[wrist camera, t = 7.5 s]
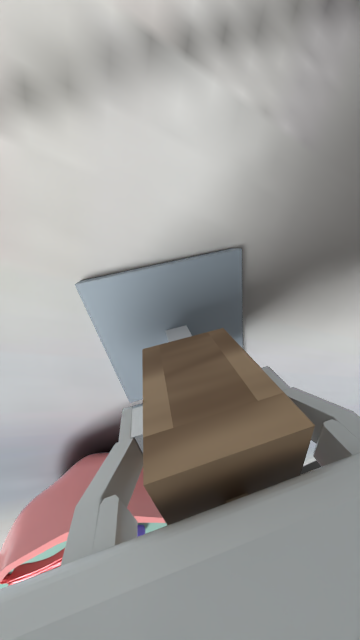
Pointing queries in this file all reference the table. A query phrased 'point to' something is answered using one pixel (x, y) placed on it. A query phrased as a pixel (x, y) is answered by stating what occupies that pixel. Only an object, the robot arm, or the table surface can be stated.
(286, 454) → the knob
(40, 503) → the cell model
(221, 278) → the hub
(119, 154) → the table surface
